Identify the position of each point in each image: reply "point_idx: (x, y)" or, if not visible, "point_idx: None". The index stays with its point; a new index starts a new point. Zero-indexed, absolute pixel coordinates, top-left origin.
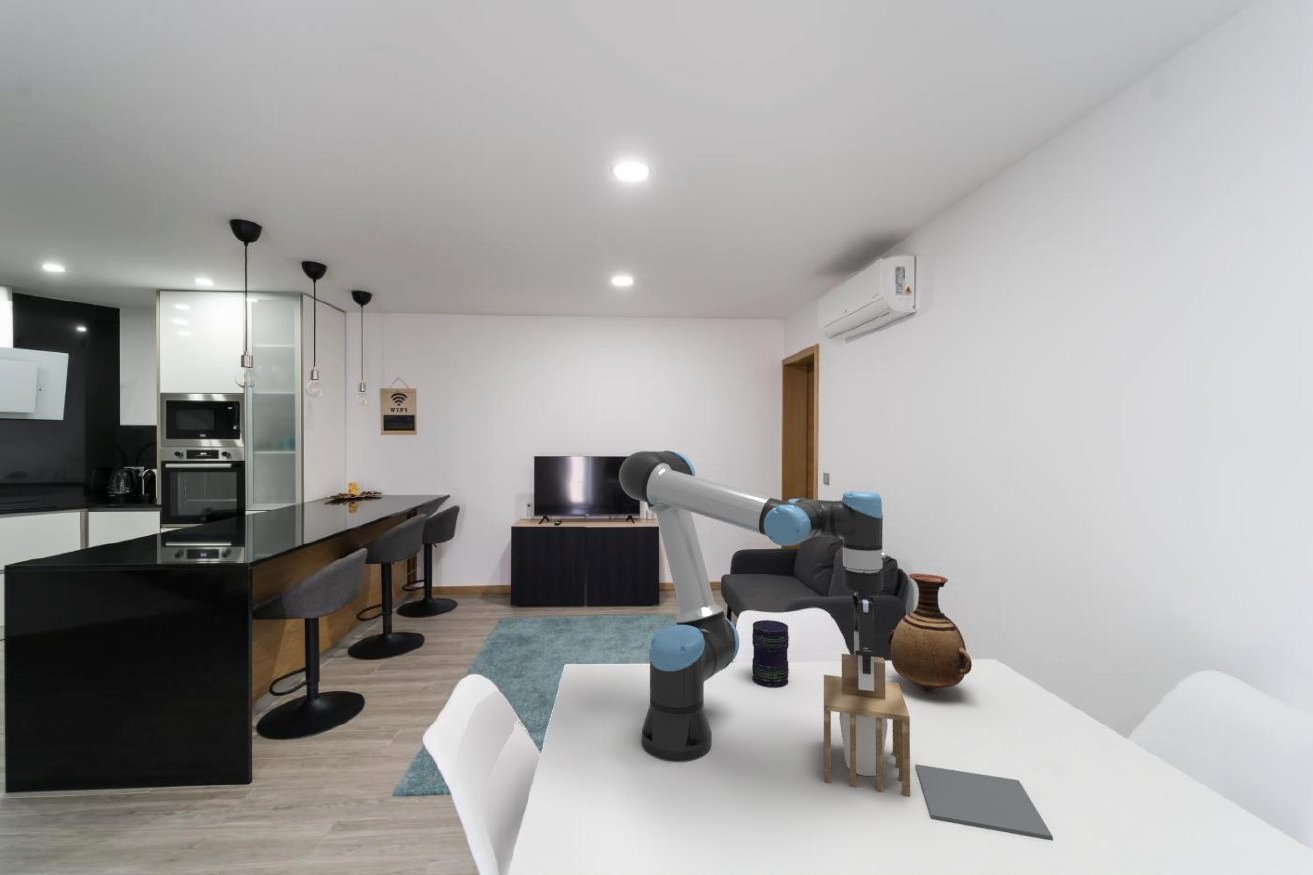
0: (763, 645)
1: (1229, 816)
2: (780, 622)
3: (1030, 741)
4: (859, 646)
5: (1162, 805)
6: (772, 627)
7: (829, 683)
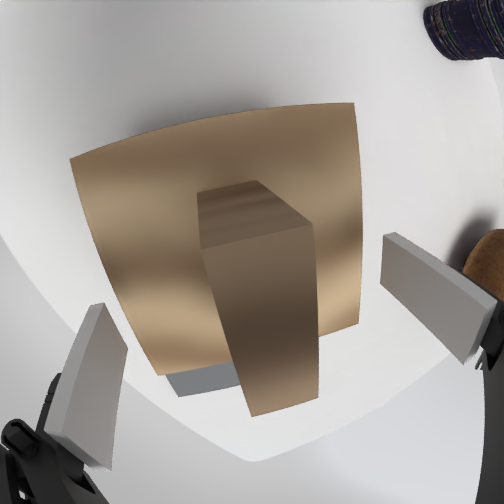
0: (478, 5)
1: (289, 447)
2: None
3: (373, 365)
4: (27, 476)
5: (287, 432)
6: None
7: (279, 128)
